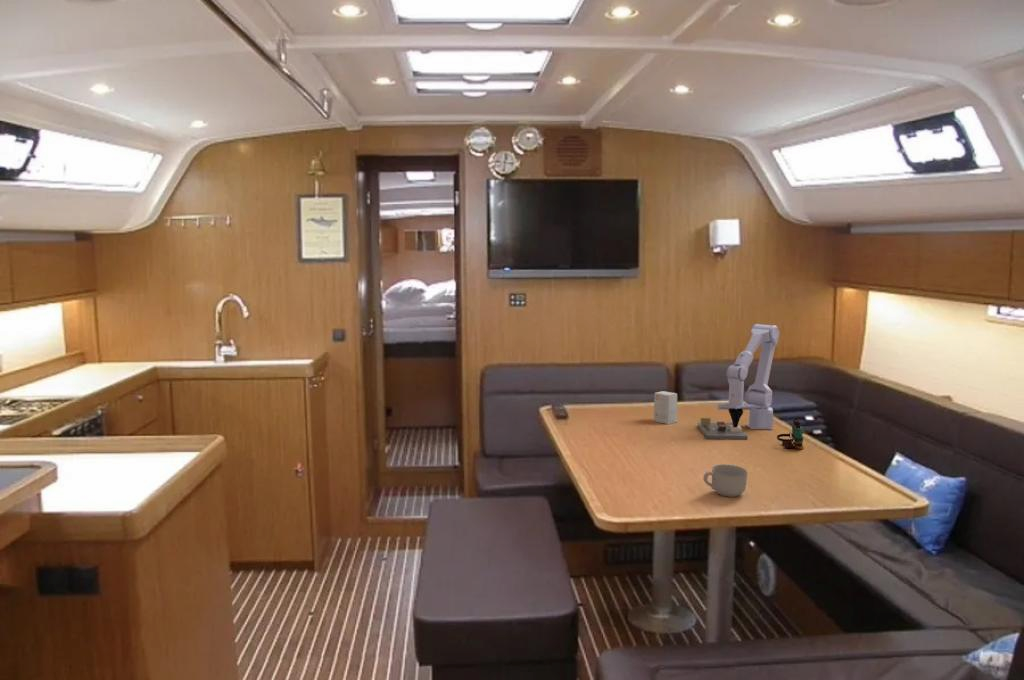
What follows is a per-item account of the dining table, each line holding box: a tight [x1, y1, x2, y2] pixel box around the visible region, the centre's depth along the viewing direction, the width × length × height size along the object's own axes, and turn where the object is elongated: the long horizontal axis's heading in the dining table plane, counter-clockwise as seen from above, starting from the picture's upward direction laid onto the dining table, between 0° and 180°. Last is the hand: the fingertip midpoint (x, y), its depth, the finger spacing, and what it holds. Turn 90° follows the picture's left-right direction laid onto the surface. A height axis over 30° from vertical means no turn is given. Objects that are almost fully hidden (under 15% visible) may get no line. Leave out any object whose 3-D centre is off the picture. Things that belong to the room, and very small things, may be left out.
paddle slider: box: [699, 416, 711, 425], centre depth 315 cm, size 4×2×3 cm, turn 85°
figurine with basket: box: [776, 418, 805, 450], centre depth 287 cm, size 9×11×10 cm
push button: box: [729, 424, 743, 432], centre depth 308 cm, size 4×4×2 cm
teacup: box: [703, 463, 749, 498], centre depth 233 cm, size 14×11×8 cm
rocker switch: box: [716, 421, 726, 429], centre depth 308 cm, size 3×5×1 cm, turn 175°
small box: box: [653, 390, 678, 425], centre depth 329 cm, size 8×6×13 cm
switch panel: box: [697, 422, 748, 441], centre depth 310 cm, size 16×22×2 cm
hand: (735, 426), depth 307 cm, fingers closed, pressing on push button
